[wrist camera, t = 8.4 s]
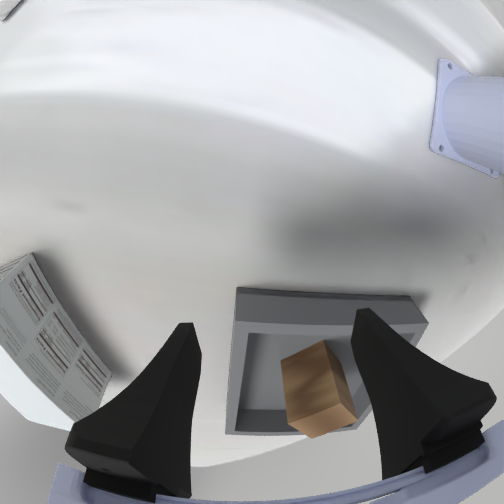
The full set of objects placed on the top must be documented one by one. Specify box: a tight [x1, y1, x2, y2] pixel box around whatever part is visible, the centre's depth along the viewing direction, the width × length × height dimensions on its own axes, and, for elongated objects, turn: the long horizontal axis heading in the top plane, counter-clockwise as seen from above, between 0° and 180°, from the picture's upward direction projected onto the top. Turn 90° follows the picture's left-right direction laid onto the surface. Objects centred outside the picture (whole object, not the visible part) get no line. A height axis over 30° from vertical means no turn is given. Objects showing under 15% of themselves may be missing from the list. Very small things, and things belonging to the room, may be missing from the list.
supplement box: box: [0, 253, 112, 431], centre depth 20 cm, size 17×13×9 cm
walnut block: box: [280, 340, 358, 438], centre depth 22 cm, size 4×4×7 cm
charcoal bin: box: [225, 287, 429, 436], centre depth 25 cm, size 16×18×4 cm
